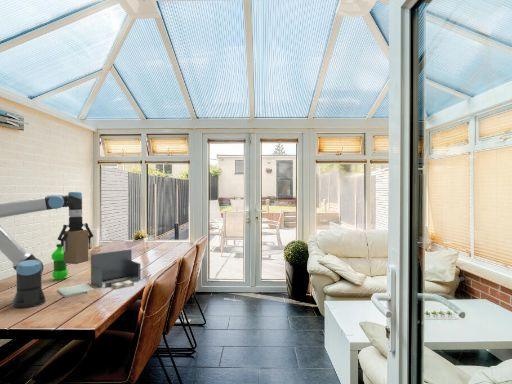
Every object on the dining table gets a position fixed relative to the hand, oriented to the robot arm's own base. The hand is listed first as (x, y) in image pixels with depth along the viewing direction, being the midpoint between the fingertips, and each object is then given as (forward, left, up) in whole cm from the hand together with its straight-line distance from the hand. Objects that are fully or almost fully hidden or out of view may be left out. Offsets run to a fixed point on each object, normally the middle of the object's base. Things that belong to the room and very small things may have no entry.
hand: (76, 250), depth 212 cm
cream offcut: (+24, -13, -25) cm, 37 cm away
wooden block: (0, 0, -8) cm, 8 cm away
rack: (+26, +1, -26) cm, 37 cm away
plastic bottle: (+1, +40, -26) cm, 48 cm away
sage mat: (0, 0, -26) cm, 26 cm away
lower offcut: (+24, -13, -27) cm, 38 cm away
